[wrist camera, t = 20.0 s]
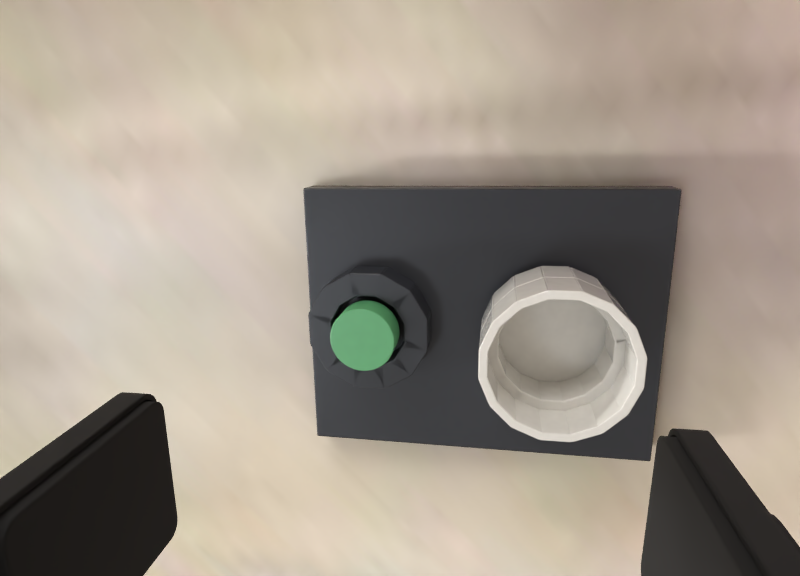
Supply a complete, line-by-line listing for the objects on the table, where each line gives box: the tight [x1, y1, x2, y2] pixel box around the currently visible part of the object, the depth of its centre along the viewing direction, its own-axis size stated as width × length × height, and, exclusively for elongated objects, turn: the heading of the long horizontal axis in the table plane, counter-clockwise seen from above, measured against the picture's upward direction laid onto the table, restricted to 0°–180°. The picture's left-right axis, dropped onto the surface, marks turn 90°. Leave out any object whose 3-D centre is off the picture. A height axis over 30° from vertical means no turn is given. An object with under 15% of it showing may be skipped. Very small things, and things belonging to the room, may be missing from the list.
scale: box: [304, 186, 681, 461], centre depth 29 cm, size 18×14×3 cm
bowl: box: [478, 266, 647, 442], centre depth 26 cm, size 7×7×5 cm
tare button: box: [330, 300, 400, 371], centre depth 28 cm, size 3×3×2 cm
